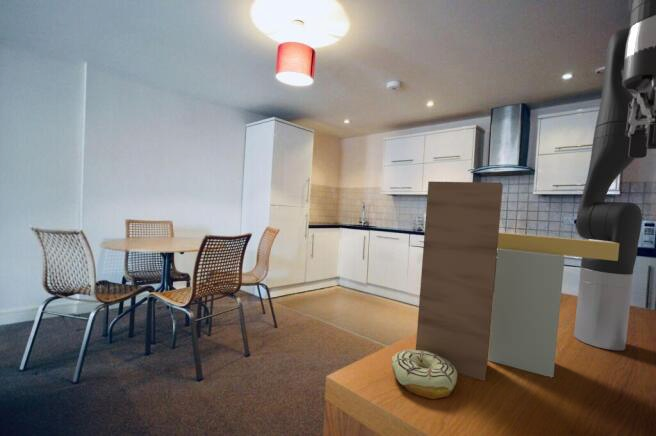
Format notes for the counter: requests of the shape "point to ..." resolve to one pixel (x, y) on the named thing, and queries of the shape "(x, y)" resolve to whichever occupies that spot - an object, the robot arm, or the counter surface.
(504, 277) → the grey-green block
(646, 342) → the counter surface
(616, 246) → the ochre bar
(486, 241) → the walnut pillar
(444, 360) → the decorated donut
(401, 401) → the counter surface
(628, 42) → the robot arm
